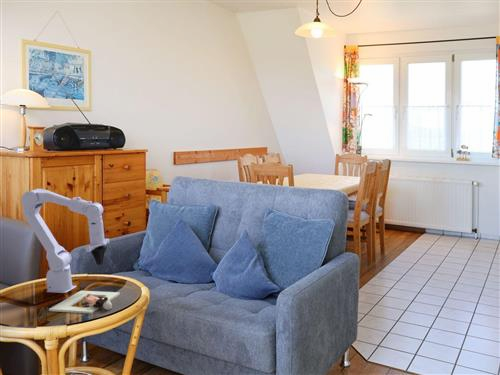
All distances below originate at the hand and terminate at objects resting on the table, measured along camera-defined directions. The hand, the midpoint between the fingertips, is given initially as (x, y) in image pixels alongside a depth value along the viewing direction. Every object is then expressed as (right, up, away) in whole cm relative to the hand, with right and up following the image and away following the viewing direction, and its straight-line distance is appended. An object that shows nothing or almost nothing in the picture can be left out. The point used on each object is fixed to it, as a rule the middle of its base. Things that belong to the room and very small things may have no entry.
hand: (99, 264), depth 205 cm
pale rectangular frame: (0, -13, -15) cm, 19 cm away
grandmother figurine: (+1, -10, -18) cm, 20 cm away
